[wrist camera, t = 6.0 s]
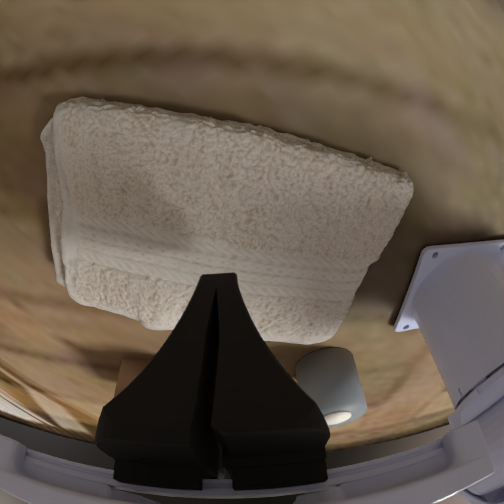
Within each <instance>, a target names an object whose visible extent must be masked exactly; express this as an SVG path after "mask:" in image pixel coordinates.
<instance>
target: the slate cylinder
mask: <svg viewBox="0 0 504 504" xmlns="http://www.w3.org/2000/svg"><path fill="white" fill-rule="evenodd" d="M295 373H296V379H297V384H298V385H299V386H300V387H301V389H302V390H303V391H304V392H305V393H306V394H307V395H308V396H310V397H311V398H312V399H313V400H314V401H315V402H316V403H317V405H318V407H319V409H320V410H321V412H322V414H323V416H324V418H325V420H326V422H327V425H328V428H332V427H337V426H341V425H344V424H347V423H349V422H352V421H354V420H356V419H358V418H359V417H361V416H362V415H363V414H364V413H365V412H366V411H367V405H366V401H365V397H364V394H363V390H362V386H361V383H360V379H359V376H358V372H357V368H356V365H355V362H354V358H353V355H352V353H351V352H350V351H349V350H347V349H344V348H338V347H332V348H324V349H320V350H317V351H314V352H312V353H309V354H307V355H306V356H304V357H303V358H302V359H300V360H299V361H298V363H297V364H296V366H295Z"/></svg>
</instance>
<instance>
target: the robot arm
mask: <svg viewBox="0 0 504 504" xmlns="http://www.w3.org/2000/svg"><path fill="white" fill-rule="evenodd" d="M416 328H419V329H420V331H421V333H422V335H423V337H424V339H425V341H426V343H427V345H428V347H429V350H430V352H431V354H432V356H433V358H434V361H435V363H436V365H437V367H438V370H439V372H440V374H441V377H442V379H443V381H444V384H445V386H446V388H447V391H448V393H449V396H450V398H451V401H452V403H453V406H454V408H455V412H454V413H452V414H451V415H450V416H449V417H448V421H449V423H450V426H451V429H450V431H449V432H448V433H447V434H445V435H444V436H443V437H442V439H439V440H436V441H434V442H431V443H428V444H425V445H423V446H419V447H417V448H413V449H411V450H407V451H404V452H401V453H397V454H394V455H390V456H387V457H383V458H379V459H376V460H372V461H368V462H363V463H359V464H355V465H350V466H345V467H340V468H335V469H330V470H327V468H326V462H325V459H326V451H325V445H326V443H327V441H328V440H329V438H330V431H329V428H328V425H327V422H326V420H325V418H324V416H323V414H322V412H321V410H320V409H319V407H318V405H317V403H316V402H315V401H314V400H313V399H312V398H311V397H310V396H308V395H307V394H306V393H305V392H304V391H303V390H302V389H301V387H300V386H299V385H298V384H297V383H296V382H295V381H294V380H293V379H292V378H291V377H290V375H289V374H288V373H287V372H286V370H285V369H284V368H283V367H282V365H281V364H280V363H279V362H278V360H277V359H276V358H275V356H274V355H273V354H272V352H271V351H270V349H269V348H268V346H267V345H266V343H265V342H264V340H263V339H262V337H261V335H260V333H259V332H258V330H257V328H256V326H255V324H254V323H253V321H252V319H251V317H250V315H249V312H248V310H247V308H246V305H245V303H244V301H243V298H242V295H241V292H240V289H239V285H238V279H237V274H236V273H234V272H232V273H217V274H203V275H202V276H201V277H200V279H199V281H198V284H197V286H196V288H195V291H194V293H193V295H192V297H191V299H190V301H189V303H188V305H187V307H186V309H185V311H184V312H183V314H182V316H181V318H180V319H179V321H178V323H177V324H176V326H175V328H174V329H173V331H172V333H171V334H170V336H169V337H168V339H167V340H166V342H165V343H164V344H163V346H162V347H161V348H160V350H159V351H158V352H157V354H156V355H155V356H154V357H153V359H152V360H151V361H150V362H149V364H148V365H147V366H146V367H145V368H144V369H143V370H142V372H141V373H140V374H139V375H138V376H137V377H136V378H135V379H134V380H133V381H132V382H131V383H130V384H129V385H128V386H127V387H126V388H125V389H124V390H123V391H121V392H120V393H119V394H118V395H117V396H116V397H115V398H113V399H112V400H111V401H110V402H109V403H107V404H106V405H105V406H104V407H103V409H102V412H101V415H100V418H99V421H98V426H97V431H96V436H95V444H96V446H97V447H98V448H99V449H100V450H102V451H103V452H104V453H106V454H107V455H109V456H110V457H112V458H114V459H115V465H114V470H109V469H103V468H98V467H93V466H89V465H84V464H79V463H76V462H71V461H67V460H63V459H60V458H56V457H53V456H49V455H46V454H43V453H39V452H36V451H33V450H30V449H27V448H26V447H25V446H24V445H22V444H21V443H19V442H17V441H15V440H13V439H10V438H8V437H5V436H3V435H0V489H1V490H3V491H5V492H7V493H9V494H11V495H13V496H14V497H17V498H19V499H21V500H23V501H25V502H27V503H29V504H160V503H159V502H155V501H152V500H148V499H146V498H143V497H142V496H140V495H137V494H132V493H128V492H124V491H119V490H116V489H121V490H126V491H133V492H139V493H147V494H155V495H165V496H175V497H189V498H256V497H270V496H281V495H291V494H299V493H306V492H313V491H318V492H313V493H309V494H305V495H300V496H297V498H296V502H294V504H435V503H437V502H440V501H441V500H444V499H446V498H448V497H450V496H452V495H454V494H456V493H457V494H458V495H459V496H460V497H462V498H464V499H465V500H467V501H469V502H470V503H471V504H504V239H503V240H492V241H481V242H470V243H459V244H448V245H436V246H428V247H425V248H424V249H423V250H422V252H421V254H420V257H419V260H418V263H417V266H416V269H415V272H414V275H413V278H412V281H411V283H410V286H409V289H408V292H407V294H406V297H405V299H404V302H403V305H402V307H401V310H400V312H399V315H398V317H397V320H396V322H395V324H394V329H395V331H396V332H401V331H406V330H411V329H416ZM224 468H226V470H227V471H228V473H229V475H230V476H231V479H223V478H224V477H225V472H224ZM336 487H337V488H336ZM325 489H326V490H325ZM320 490H322V491H320Z"/></svg>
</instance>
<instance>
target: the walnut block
mask: <svg viewBox="0 0 504 504" xmlns="http://www.w3.org/2000/svg"><path fill="white" fill-rule="evenodd" d="M151 360H152V359H122V362H121V366H120V371H119V375H118V380H117V385H116V390H115V395H114V398H115V397H116V396H117V395H118V394H119V393H120V392H121V391H123V390H124V389H125V388H126V387H127V386H128V385H129V384H130V383H131V382H132V381H133V380H134V379H135V378H136V377H137V376H138V375H139V374H140V373H141V372H142V370H143V369H144V368H145V367H146V366H147V365H148V364H149V362H150V361H151Z"/></svg>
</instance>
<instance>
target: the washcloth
mask: <svg viewBox="0 0 504 504" xmlns="http://www.w3.org/2000/svg"><path fill="white" fill-rule="evenodd" d="M40 140H41V141H42V143H43V147H44V150H45V155H46V171H47V200H48V213H49V226H50V235H51V248H52V254H53V258H54V264H55V270H56V280H57V282H58V283H59V284H61V285H63V286H64V287H67V289H68V293H69V295H70V297H71V298H72V299H73V300H75V301H76V302H77V303H79V304H82V305H85V306H93V307H96V308H99V309H103V310H107V311H110V312H113V313H117V314H121V315H124V316H127V317H128V318H132V319H135V320H137V321H139V322H140V323H141V324H142V325H143V326H144V327H145V328H147V329H151V330H173V329H174V328H175V326H176V324H177V323H178V321H179V319H180V318H181V316H182V314H183V312H184V311H185V309H186V307H187V305H188V303H189V301H190V299H191V297H192V295H193V293H194V291H195V288H196V286H197V284H198V281H199V279H200V277H201V276H202V275H203V274H217V273H232V272H234V273H236V274H237V279H238V285H239V289H240V292H241V295H242V298H243V301H244V303H245V305H246V308H247V310H248V312H249V315H250V317H251V319H252V321H253V323H254V324H255V326H256V328H257V330H258V332H259V333H260V335H261V337H262V339H263V340H264V341H279V342H287V343H298V344H305V345H308V344H314V343H320V342H323V341H326V340H328V339H331V338H332V337H333V335H335V333H336V331H337V330H338V328H339V327H340V325H341V323H342V322H343V321H344V318H345V316H346V315H347V312H348V311H349V309H350V306H351V305H352V301H353V300H354V297H355V292H356V291H357V289H358V287H359V286H360V285H361V283H362V281H363V278H364V276H365V275H366V273H367V270H368V266H370V264H372V263H373V262H375V261H378V259H379V258H380V254H381V253H382V252H383V249H384V248H385V247H386V246H387V244H388V242H389V241H390V239H391V238H392V237H393V233H394V231H395V228H396V227H397V226H398V225H399V223H400V220H401V218H402V217H403V215H404V211H405V209H406V207H407V206H408V204H409V202H410V200H411V198H412V197H413V191H414V189H413V183H412V180H411V179H410V178H409V177H408V174H407V172H406V171H404V172H400V171H398V170H396V169H394V168H391V167H389V166H383V165H382V164H381V163H377V162H374V161H372V157H369V158H367V159H364V158H360V157H358V156H356V154H354V153H349V152H343V151H340V150H336V149H333V148H330V147H326V146H324V145H322V144H320V143H316V142H310V140H309V139H302V138H299V137H297V136H295V135H292V134H289V133H279V132H276V131H274V130H273V129H271V128H269V127H263V126H262V125H258V126H254V125H252V124H251V123H238V122H236V121H230V120H227V121H220V120H218V119H214V118H212V117H206V116H199V115H197V114H194V113H177V112H174V111H170V110H165V109H161V108H156V107H153V108H149V107H145V106H143V105H141V104H125V103H123V102H116V101H111V102H109V101H105V99H104V98H102V99H89V98H86V97H78V98H70V99H69V100H67V101H65V102H61V103H59V104H57V106H56V109H55V111H54V114H53V118H51V119H50V121H49V122H48V124H47V125H46V126H45V128H44V129H43V130H42V132H41V135H40Z"/></svg>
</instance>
